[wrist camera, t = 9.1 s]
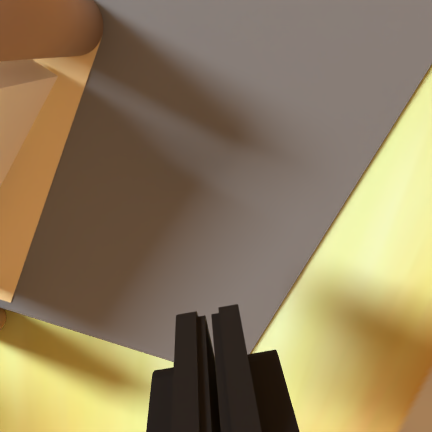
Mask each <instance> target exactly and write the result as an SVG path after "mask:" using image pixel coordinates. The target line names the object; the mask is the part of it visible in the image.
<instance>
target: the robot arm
mask: <svg viewBox="0 0 432 432" xmlns="http://www.w3.org/2000/svg"><path fill="white" fill-rule="evenodd" d="M218 310H219V313H216V314H211V318H212V330H213V342H214V352H213V347H212V342H211V338H210V333H209V329H208V324H207V320H206V316H205V315H204V316H198V314H197V311H195V312H189V313H183V314H178V315H176V326H175V349H174V367H173V368H167V369H161V370H156V371H154V372H153V375H152V383H151V392H150V402H149V411H148V421H147V430H146V432H299V428H298V425H297V421H296V418H295V414H294V410H293V407H292V403H291V400H290V396H289V393H288V389H287V385H286V382H285V378H284V375H283V371H282V368H281V364H280V360H279V357H278V354H277V351H276V350H271V351H265V352H260V353H254V354H248V355H247V349H246V344H245V339H244V333H243V328H242V322H241V317H240V312H239V306H238V304H235V305H229V306H223V307H218ZM214 354H215V356H214Z"/></svg>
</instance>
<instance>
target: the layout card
mask: <svg viewBox="0 0 432 432" xmlns="http://www.w3.org/2000/svg"><path fill="white" fill-rule="evenodd" d="M93 1H94V2H95V3H96V5H97V6H98V8H99V10H100V12H101V15H102V19H103V35H102V38H101V39H100V42H99V43H98V45H97V46H96V47H95V48H94V49H93V50H92V51H91V52H89V53H87V54H85V55H81V56H71V57H56V58H42V59H33V60H34V61H36V62H37V63H39V64H40V65H42V66H43V67H45V68H47V69H48V70H50V71H51V72H53V73H54V74H56V75H57V76H58V77H57V79H56V81H55V83H54V85H53V87H52V89H51V91H50V93H49V95H48V96H47V98H46V100H45V102H44V104H43V106H42V108H41V110H40V112H39V114H38V116H37V118H36V119H35V121H34V123H33V125H32V127H31V129H30V131H29V133H28V135H27V137H26V139H25V141H24V143H23V144H22V146H21V148H20V150H19V152H18V154H17V156H16V158H15V160H14V162H13V164H12V166H11V167H10V169H9V171H8V173H7V175H6V177H5V179H4V181H3V183H2V185H1V187H0V308H3V309H6V310H10V311H13V312H16V313H19V314H22V315H26V316H29V317H32V318H35V319H38V320H42V321H45V322H48V323H51V324H54V325H57V326H61V327H64V328H67V329H70V330H73V331H77V332H80V333H83V334H86V335H89V336H93V337H96V338H99V339H102V340H105V341H108V342H112V343H115V344H118V345H121V346H124V347H128V348H131V349H134V350H137V351H140V352H144V353H147V354H150V355H153V356H156V357H159V358H163V359H166V360H169V361H172V362H174V349H175V326H176V315H178V314H183V313H189V312H195V311H197V314H198V316H204V315H205V316H206V320H207V324H208V329H209V333H210V338H211V342H212V347H213V352H214V342H213V330H212V318H211V314H216V313H219V310H218V307H223V306H229V305H235V304H238V306H239V312H240V317H241V322H242V328H243V333H244V339H245V344H246V349H247V355H248V354H250V353H251V351H252V349H253V348H254V346H255V345H256V343H257V342H258V340H259V338H260V337H261V335H262V334H263V332H264V330H265V329H266V327H267V326H268V324H269V322H270V321H271V319H272V318H273V316H274V314H275V313H276V311H277V310H278V308H279V306H280V305H281V303H282V302H283V300H284V299H285V297H286V295H287V294H288V292H289V291H290V289H291V287H292V286H293V284H294V283H295V281H296V279H297V278H298V276H299V275H300V273H301V271H302V270H303V268H304V267H305V265H306V264H307V262H308V260H309V259H310V257H311V256H312V254H313V252H314V251H315V249H316V248H317V246H318V244H319V243H320V241H321V240H322V238H323V236H324V235H325V233H326V232H327V230H328V228H329V227H330V225H331V224H332V222H333V221H334V219H335V217H336V216H337V214H338V213H339V211H340V209H341V208H342V206H343V205H344V203H345V201H346V200H347V198H348V197H349V195H350V193H351V192H352V190H353V189H354V187H355V185H356V184H357V182H358V181H359V179H360V178H361V176H362V174H363V173H364V171H365V170H366V168H367V166H368V165H369V163H370V162H371V160H372V158H373V157H374V155H375V154H376V152H377V150H378V149H379V147H380V146H381V144H382V143H383V141H384V139H385V138H386V136H387V135H388V133H389V131H390V130H391V128H392V127H393V125H394V123H395V122H396V120H397V119H398V117H399V115H400V114H401V112H402V111H403V109H404V107H405V106H406V104H407V103H408V101H409V100H410V98H411V96H412V95H413V93H414V92H415V90H416V88H417V87H418V85H419V84H420V82H421V80H422V79H423V77H424V76H425V74H426V72H427V71H428V69H429V68H430V66H431V64H432V0H93ZM27 60H28V59H27ZM13 61H14V60H13ZM214 356H215V354H214Z"/></svg>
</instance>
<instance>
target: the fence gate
mask: <svg viewBox="0 0 432 432" xmlns="http://www.w3.org/2000/svg"><path fill="white" fill-rule="evenodd" d="M57 77H58V76H57V75H56V74H54V73H53V72H51V71H50V70H48V69H47V68H45V67H43V66H42V65H40V64H39V63H37V62H36V61H34V60H33V59H28V60H14V61H0V187H1V185H2V183H3V181H4V179H5V177H6V175H7V173H8V171H9V169H10V167H11V166H12V164H13V162H14V160H15V158H16V156H17V154H18V152H19V150H20V148H21V146H22V144H23V143H24V141H25V139H26V137H27V135H28V133H29V131H30V129H31V127H32V125H33V123H34V121H35V119H36V118H37V116H38V114H39V112H40V110H41V108H42V106H43V104H44V102H45V100H46V98H47V96H48V95H49V93H50V91H51V89H52V87H53V85H54V83H55V81H56V79H57Z"/></svg>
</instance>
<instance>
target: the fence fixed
mask: <svg viewBox="0 0 432 432" xmlns="http://www.w3.org/2000/svg"><path fill="white" fill-rule="evenodd" d="M102 35H103V19H102V15H101V12H100V10H99V8H98V6H97V5H96V3H95V2H94V1H93V0H0V61H13V60H27V59H42V58H56V57H71V56H81V55H85V54H87V53H89V52H91V51H92V50H93V49H94V48H95V47H96V46H97V45H98V43H99V42H100V39H101V38H102ZM5 322H6V313H5V311H4V309H3V308H0V330H1V329H2V327H3V326H4V324H5Z"/></svg>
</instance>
